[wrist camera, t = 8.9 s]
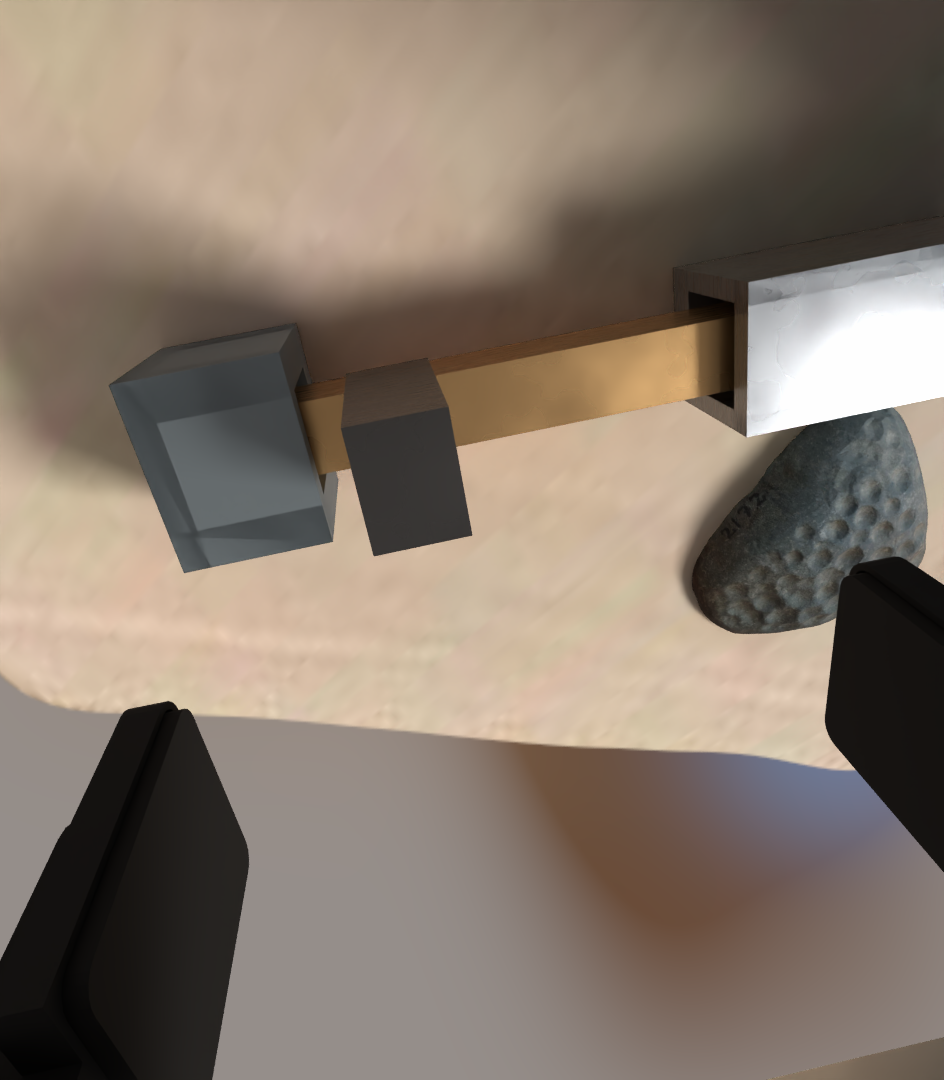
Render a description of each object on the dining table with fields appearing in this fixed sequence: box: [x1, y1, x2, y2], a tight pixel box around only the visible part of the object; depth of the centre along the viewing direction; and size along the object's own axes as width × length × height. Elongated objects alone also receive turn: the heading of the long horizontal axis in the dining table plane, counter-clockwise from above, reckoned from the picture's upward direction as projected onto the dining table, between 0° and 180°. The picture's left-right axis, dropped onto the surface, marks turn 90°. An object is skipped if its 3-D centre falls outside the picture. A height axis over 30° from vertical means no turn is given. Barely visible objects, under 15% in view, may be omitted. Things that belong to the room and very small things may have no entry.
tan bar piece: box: [294, 301, 735, 556], centre depth 24 cm, size 4×22×9 cm, turn 100°
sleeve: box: [673, 216, 944, 437], centre depth 28 cm, size 6×12×6 cm, turn 99°
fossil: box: [692, 407, 928, 634], centre depth 35 cm, size 10×13×4 cm
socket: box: [109, 323, 338, 573], centre depth 27 cm, size 7×6×6 cm
